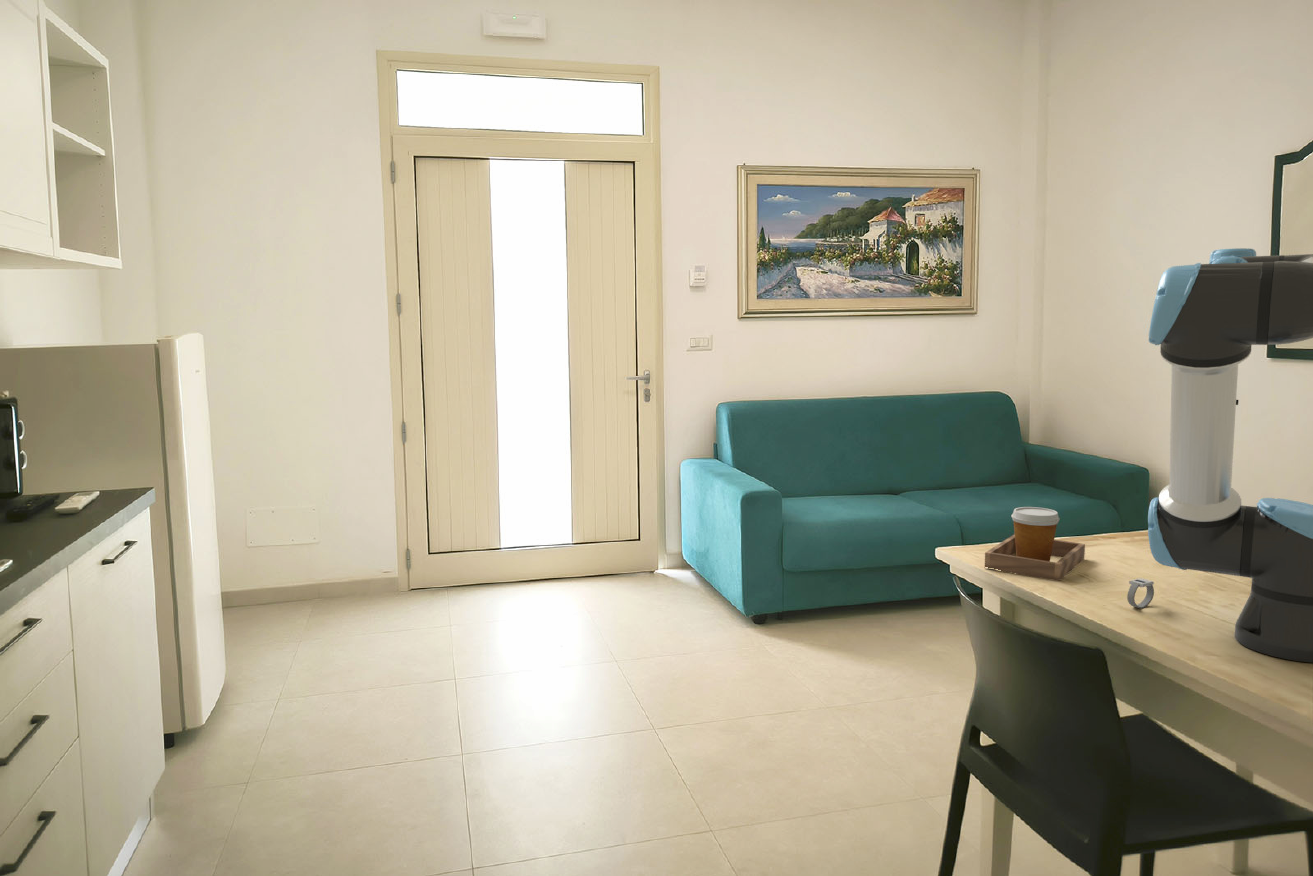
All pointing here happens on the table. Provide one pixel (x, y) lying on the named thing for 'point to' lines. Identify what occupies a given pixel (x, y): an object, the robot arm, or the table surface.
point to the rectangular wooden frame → (1055, 571)
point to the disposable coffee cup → (1034, 532)
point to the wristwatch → (1133, 588)
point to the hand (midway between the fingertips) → (1218, 441)
